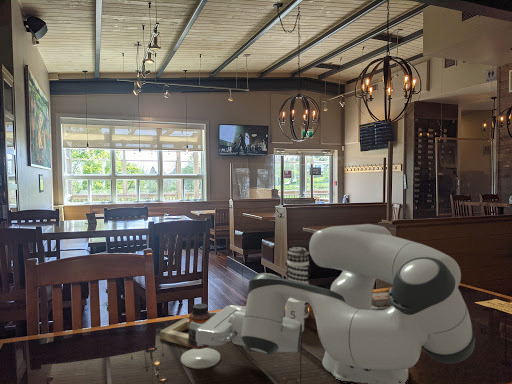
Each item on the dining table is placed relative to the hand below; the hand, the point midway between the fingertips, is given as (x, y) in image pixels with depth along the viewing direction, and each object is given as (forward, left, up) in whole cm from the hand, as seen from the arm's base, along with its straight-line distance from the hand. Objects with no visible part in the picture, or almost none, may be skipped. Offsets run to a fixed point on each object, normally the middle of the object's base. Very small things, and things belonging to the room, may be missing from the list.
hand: (197, 319), depth 109 cm
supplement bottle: (-1, 0, -7) cm, 7 cm away
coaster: (-1, -1, -11) cm, 11 cm away
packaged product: (-40, -74, -12) cm, 85 cm away
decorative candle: (-13, -46, -11) cm, 49 cm away
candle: (-17, -33, -11) cm, 39 cm away
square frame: (+11, -12, -11) cm, 20 cm away
